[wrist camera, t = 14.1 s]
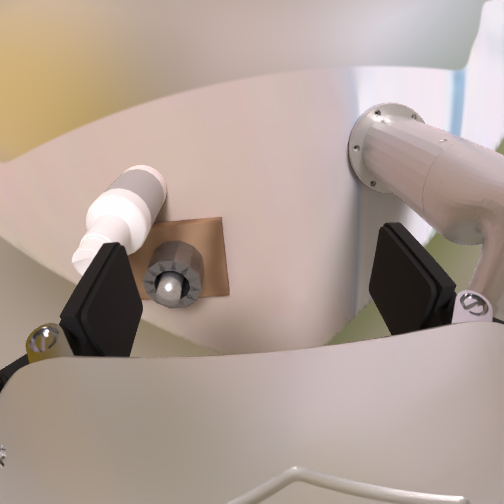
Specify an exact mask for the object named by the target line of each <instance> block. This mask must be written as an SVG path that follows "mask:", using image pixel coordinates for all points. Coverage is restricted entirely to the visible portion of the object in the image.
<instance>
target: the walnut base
mask: <svg viewBox="0 0 504 504" xmlns="http://www.w3.org/2000/svg"><path fill="white" fill-rule="evenodd" d="M177 240H180V241H183V242H185V243H188V244H190V245H193V246H194V247H195V248H196V249H197V250H198V252H199V253H200V254H201V255H202V257H203V263H204V274H203V283H202V291H201V293H200V294H199V296H198V297H207V296H223V295H229V281H228V273H227V264H226V255H225V245H224V236H223V226H222V217H216V218H204V219H192V220H181V221H170V222H159V223H153V225H152V227H151V229H150V231H149V233H148V235H147V238H146V240H145V241H144V243H143V245H142V246H141V247H140V248H139V249H138V250H137V251H136V252H135V253H132V254H130V255H128V259H129V262H130V266H131V269H132V272H133V276H134V279H135V282H136V285H137V288H138V292H139V295H140V298H141V300H148V299H152V298H151V297H150V296H149V295H148V294H147V293H146V290H145V287H144V283H143V279H144V276H145V274H146V271H147V268H148V265H149V263H150V260H151V257H152V255H153V252H154V250H155V248H157V247H158V246H160V245H161V244H163V243H164V242H165V241H177ZM184 277H185V276H184Z"/></svg>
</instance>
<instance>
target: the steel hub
mask: <svg viewBox="0 0 504 504" xmlns="http://www.w3.org/2000/svg"><path fill="white" fill-rule="evenodd" d="M163 271H175V272H178V273H181V274H183V275H184V276H185V277H184V280H183V285H182V290H181V296H180V300H179V302H178V303H177V304H176V305H173V306H166V305H163V304H161V303H160V302H159V301H158V300H157V298H156V292H157V289H158V285H159V282H160V279H161V275H162V272H163ZM203 274H204V263H203V257H202V255H201V254H200V253H199V252H198V250H197V249H196V248H195V247H194V246H193V245H190V244H188V243H185V242H183V241H180V240H177V241H165V242H164V243H163V244H161V245H160V246H158V247H157V248H155V250H154V252H153V255H152V257H151V260H150V263H149V265H148V268H147V271H146V274H145V276H144V279H143V283H144V287H145V290H146V293H147V294H148V295H149V296H150V297H151V298H152V299H153V300H154V301H155V302H156V303H158V304H161V305H163V306H166V307H169V308H182V307H186V306H188V305H190V304H192V303H193V302H195V301H196V300H197V298H198V296H199V294H200V293H201V291H202V283H203Z"/></svg>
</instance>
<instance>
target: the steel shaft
mask: <svg viewBox="0 0 504 504" xmlns="http://www.w3.org/2000/svg"><path fill="white" fill-rule="evenodd" d="M183 280H184V275H183V274H181V273H178V272H175V271H163V272H162V275H161V279H160V282H159V285H158V289H157V292H156V298H157V300H158V301H159V302H160V303H161V304H163V305H166V306H173V305H176V304H177V303H178V302H179V300H180V296H181V290H182V285H183Z"/></svg>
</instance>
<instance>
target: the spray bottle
mask: <svg viewBox="0 0 504 504" xmlns="http://www.w3.org/2000/svg"><path fill="white" fill-rule="evenodd" d="M166 194H167V189H166V183H165V181H164V179H163V177H162V176H161V175H160V174H159V173H158V171H157V170H155V169H153V168H151V167H149V166H144V165H138V166H133V167H131V168H129V169H127V170H126V171H125V172H124V173H123V174H121V175H120V176H119V177H118V178H117V179H116V180H115V181H114V182H113V183H112V184H111V185H110V186H109V187H108V188H107V189H106V190H105V191H104V192H103V193H102V194H101V195H100V196H99V197H98V198H97V199H96V200H95V201H94V203H93V204H92V205H91V206H90V207H89V210H88V213H87V215H86V228H87V233H86V234H85V236H84V237H83V238H82V239H81V242H80V245H79V248H78V249H77V250H76V252H75V253H74V254H73V258H72V264H73V265H74V267H75V268H76V269H77V270H78V272H79V273H80V274H81V275H82V276H83V275H84V273H85V271H86V270H87V268H88V266H89V265H90V263H91V262H92V260H93V259H94V257H95V255H96V254H97V252H98V251H99V249H100V248H101V246H102V245H103V244H104V243H111V242H119V243H120V245H123V246H124V247H125V249H126V252H127V255H130V254H132V253H135V252H136V251H137V250H138V249H139V248H140V247H141V246H142V245H143V243H144V241H145V240H146V238H147V235H148V233H149V231H150V229H151V227H152V225H153V223H154V221H155V219H156V217H157V215H158V213H159V211H160V209H161V207H162V205H163V203H164V201H165V199H166Z"/></svg>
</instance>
